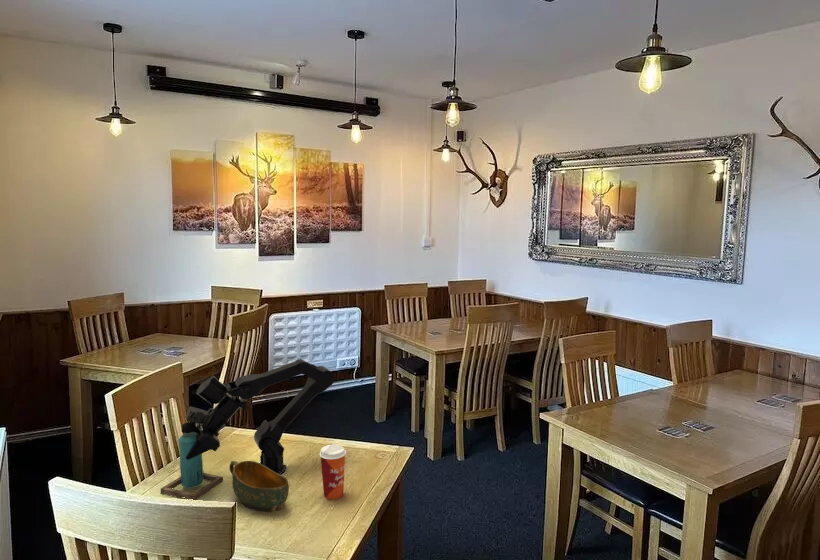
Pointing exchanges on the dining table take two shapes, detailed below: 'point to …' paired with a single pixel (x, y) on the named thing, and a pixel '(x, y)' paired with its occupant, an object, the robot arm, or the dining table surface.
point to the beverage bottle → (193, 466)
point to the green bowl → (258, 486)
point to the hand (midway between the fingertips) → (185, 454)
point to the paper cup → (333, 470)
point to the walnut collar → (215, 481)
